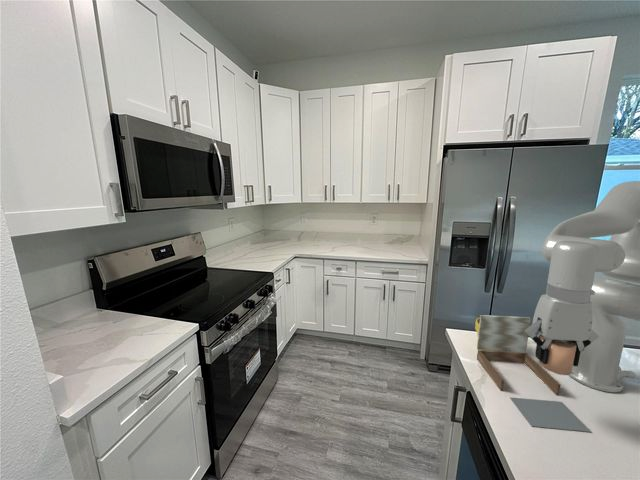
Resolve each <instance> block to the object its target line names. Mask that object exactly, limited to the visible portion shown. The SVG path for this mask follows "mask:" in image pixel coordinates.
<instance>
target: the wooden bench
mask: <svg viewBox="0 0 640 480" xmlns="http://www.w3.org/2000/svg"><path fill="white" fill-rule="evenodd" d="M479 318H480V323H479V332H478V335H477V342H476V343H477V344H476V350H477V355H476V360H477V361H478V362H479V364H480V365H481V366H482V368H483V369H484V370H485V372H486V373H487V374H488V376H489V377H490V379H491V380H492V381H493V383H494V384H495V385H496V387H497V388H498V389H499V391H500V392H503V391H504V383H505V380H504V378H503V377H502V376H501V374H500V373H499V372H498V371H497V370H496V368H495V367H494V366H493V365H492V363H491V362H498V363H499V362H500V363H501V362H502V363H513V364H514V363H516V364H524V363H525V364H526V365H527V366H528V367H529V368H530V369H531V370H532V371H533V372H534V373H535V374H534V373H533V372H532V371H531V370H530V369H529V368H528V367H527V366H526V365H525V364H524V365H525V366H526V367H527V368H528V369H529V370H530V371H531V372H532V373H533V374H534V375H535V376H536V377H537V378H538V379H541V380H542V381H543V382H544V383H543V382H542V381H541V380H540V381H541V382H542V383H543V384H546V385H547V386H548V387H547V386H546V385H545V386H546V387H547V388H548V389H549V390H551V392H552V393H553V394H554V395H555V396H560V390H561V386H562V385H561V384H560V383H559V382H558V380H556V378H555V377H553V376H552V375H551V374H550V373H549V372H548V371H547V370H546V369H545V368H544V367H542V366H541V365H540V363H539V362H537V361H536V360H534V358H532V357H531V355H529V354H528V353H527V348H528V347H527V346H528V343H529V342H528V340H529V336H528V335H527V334H526V333H525V329H527V328H528V327H529V326H531V320H532V317H529V316H528V317H527V316H511V315H510V316H507V315H486V314H485V315H482V314H480V315H479ZM487 350H493V351H487Z"/></svg>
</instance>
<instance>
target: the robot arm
mask: <svg viewBox="0 0 640 480" xmlns="http://www.w3.org/2000/svg"><path fill="white" fill-rule="evenodd" d="M602 237H603V238H604V237H610V239H609V240H607V239H601V238H602ZM597 238H598V239H597ZM541 255H542V257H543V258H544V260H546V261H547V262H549V270H548V276H547V283H546V290H545V294H541V296H540V298H539V299H538V302H537V305H536V307H535V310H534V315H533V317H532V322H531V323H532V324H530V326H529V327H528V328H527V329H525V333H526V334H527V335H528V337H529V338H530V339H531V340H532V341H533V342H534V343H535V344H536V346H535V347H536V348H535V353H534V354H535V358H536V359H537V360H538V361H539V360H540V361H541V362H542V363H543V364H547V363H548V357H549V350H548V349H547V347H548V346H549V344H550V343H551V341H552V340H553V339H554V340H570V341H572V342H573V343H575V344H576V352H575V357H574V363H573V368H572V373H571V374H570V375H568V376H569V377H570V378H571V379H573V380H575V381H577V382H579V383H580V384H582V385H584V386H587V387H589V388H592V389H594V390H598V391H601V392H606V393H620V392H622V391H623V390H624V383H623V381H622V380H621V379H624V378H628V379H635V378H636V373H635V372H634V371H632V370H625V369H624V370H622V368H621V366H620V363H621V359H622V355H623V354H622V353H623V349H624V345H625V340H626V336H627V329H626V326H625V324H624V322H623V321H622V319H621V318H620V317H623V318H625V319H626V318H627V319H629V320H633V321H637V322H640V180H633V181H632V180H631V181H624V182H621V183H618V184H617V185H615V186H612V188H610V190H609V191H608V192H607V193H606V195H605V196H604V197H603V198H602V199H601V201H600V202H599V203H598V205H597V206H596V207H595V208H594V209H593V210H592V211H589V212H585V213H582V214H579V215H577V216H574V217H571V218H568V219H566V220H564V221H561V222H560V223H559V224H557V225H556V226H555V227H554V228H553V229H552V230H551V231H550V233H549V234H548V235H547V236H546V238H545V239H544V241H543V243H542V246H541ZM596 272H597V273H601V274H602V275H603V276H606V277H609V278H604V277H595V275H596ZM610 278H611V279H610ZM537 332H538V334H537V335H536V333H537ZM543 338H545V339H544V341H543ZM542 341H543V342H542Z"/></svg>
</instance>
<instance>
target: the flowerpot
mask: <svg viewBox="0 0 640 480" xmlns="http://www.w3.org/2000/svg"><path fill="white" fill-rule="evenodd" d="M544 339H545V338H543V340H542V342H543V341H544ZM547 349H548V350H549V357H548V363H547V364H543V363H542V362H541V361H540V360H539V359H538V361H539V362H538V364H539V365H540V366H541V367H542V368H543V369H544V370H546V371H549V372H552V373H553V374H556V375H560V376H561V375H562V376H569V375H570V374H571V373H572V368H573V363H574V357H575V352H576V344H575V343H573V342H572V341H570V340H554V339H553V340H552V341H551V343H550V344H549V346H548V347H547Z"/></svg>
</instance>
